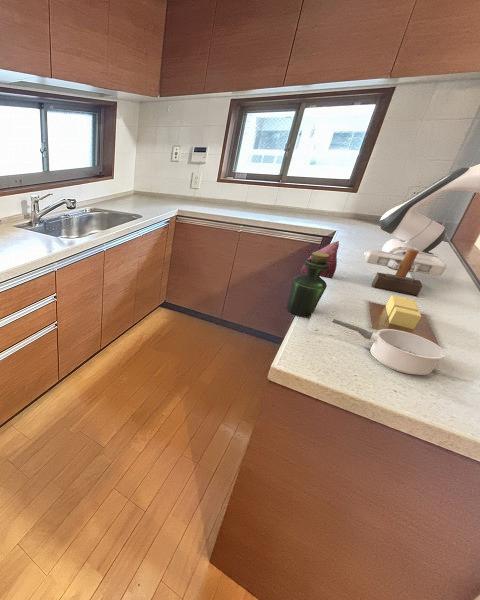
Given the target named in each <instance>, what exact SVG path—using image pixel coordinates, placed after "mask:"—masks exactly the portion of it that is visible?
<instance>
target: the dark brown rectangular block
mask: <svg viewBox="0 0 480 600" xmlns="http://www.w3.org/2000/svg"><path fill="white" fill-rule="evenodd" d="M386 274H387V273H383V272H376V274H375V276H374V278H373V281H372V283H371V288H373V289H378V290H382V291H387V292H392V293H397V294H402V295H407V296H411V297H418V295H419V294H420V292H421V291H422V288H423V284H422V282H421V280H420V279H415V278H414V281H413V282H411V281H405V280H400V279H395V278H390V277H385V276H386Z"/></svg>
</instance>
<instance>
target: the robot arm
mask: <svg viewBox="0 0 480 600" xmlns="http://www.w3.org/2000/svg"><path fill="white" fill-rule="evenodd" d="M455 191H457V192H459V191H462V192H470V193H477V194H480V163H478V164H475V165H473V166H470V167H460V168H458V169H456V170H454V171H452V172H450V173H448V174H447V175H445V176H443V177H441V178H440V179H438V180H437V181H435V182H433V183H432V184H430V185H429V186H427V187H426V188H424V189H423V190H421V191H419V192H418V193H416V194H415V195H413V196H411V197H410V198H408V199H406V200H405V201H403V202H401V203H400V204H398V205H396V206H394V207H393V208H391V209H389V210H388V211H386V212H385V213H384V214H382V216H381V217H380V218H379V227H380V229H381V231H384V232H386V233H388V234H389V235H393V236H394V237H395V238H390V239H389V240H387V242H385V244H383V246H382V247H381V250H378V249H369V250H368V251H364V252H363V255H364V256H365V257H364V259H363V262H364V263H366V264H370V265H371V264H372V265H377V266H382V267H387V269H390V270H392V271H397V270H399V267H400V266H401V263H402V261H403V259H404V257H405V255H406V253H407V251H408V249H415V250H418V251H419V252H418V254H417V256H416V258H415V260H414V262H413V264H412V266H411V268H410V270H409V272H410V273H421V274H426V275H432V276H436V277H438V276H439V277H441V276H442V275H443V274H444V272H445V271H446V270H447V264H446V263H445V261H444V260H443V259H441V258H439V255H438V254H437V253H435V252H431V251H432V250H434V249H435V248H437V247H438V246H439V245H441V244H442V242H443V241H444V239H445V237H446V232H447V229H446V226H444V225H443V224H441V223H439V222H438V221H435V220H433V219H432V218H429V217H428V216H426V215H424V214H422V213H420V212H419V211H417V210H418V209H420V208H421V207H423V206H424V205H426V204H428V203H429V202H431V201H432V200H435V199H436V198H437V197H440V196H441V195H443V194H445V193H448V192H455ZM409 272H408V273H409Z"/></svg>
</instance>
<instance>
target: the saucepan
mask: <svg viewBox="0 0 480 600" xmlns="http://www.w3.org/2000/svg"><path fill="white" fill-rule="evenodd" d="M331 323H333V324H335V325H338V326H342V327H343V328H347V329H350V330H352V331H355V332H357V333H358V334H360V335H361V336H362V337H363V338H364V339H366V340H368V341H372V342H373V343H372V345H371V346H370V349H369V352H370V354H371V355H372V356H373V357H374V358H375V359H376V360H377V361H378V363H381V364H382V365H383V366H385V367H387V368H389V369H391V370H394V371H396V372H398V373H402V374H403V373H404V374H407V375H417V376H419V375H420V376H423V375H425V376H426V375H430V374H431V373H432V372H433V370H434V368H436V366H437V364H438V363H439V361H440V359H443V358H444V357H446V351H445V350H444V349H443V348H442V347H441V346H440V345H439V346H438V345H437V344H435V343H433V342H431V341H429V340H427V339H425V338H423V337H420V336H417V335H414V334H411V333H408V332H404V331H399V330H393V329H382V330H377V331H376V332H373V331H368V330H365V329H364V328H362V327H359V326H357V325H354V324H351V323H347V322H344V321H342V320H339V319H336V318H333V319H332V321H331Z"/></svg>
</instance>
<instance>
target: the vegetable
mask: <svg viewBox="0 0 480 600" xmlns="http://www.w3.org/2000/svg"><path fill="white" fill-rule="evenodd" d="M339 242H340V241H339V240H337V241H333V242H331V243H329V244H328V245H326V246H324V247H322V248H320V249H318V250H316V251H315V252H321V253H325V254H328V255H329V257H328V258H327V259H326V261H325V262H327V263H328V264H329V269H327V270H323V271H322V272H321V274H320V275H319V277H320V278H326V279H330V280H331V279H333V277H334V275H335V273H336V269H337V263H338V257H337V255H338V250H339V246H340V243H339ZM307 259H312V254H311V255H310V256H309V257H308V258H307ZM300 273H301V274H302V275H303V274H307V266H305V265H304V264H303V265H302V267H301V270H300Z"/></svg>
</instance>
